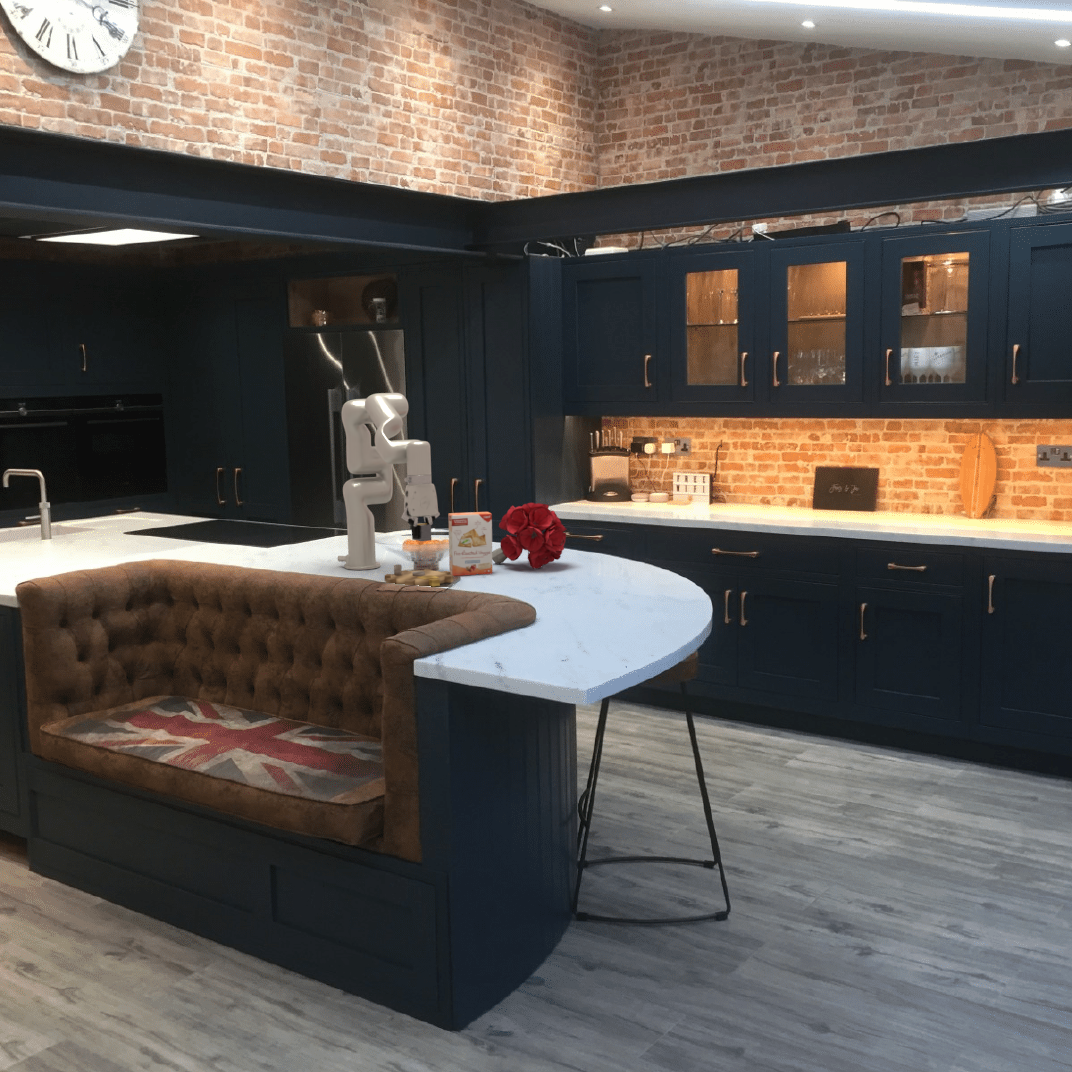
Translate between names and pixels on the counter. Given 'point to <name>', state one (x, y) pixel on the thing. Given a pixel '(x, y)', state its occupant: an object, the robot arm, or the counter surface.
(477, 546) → the cracker box
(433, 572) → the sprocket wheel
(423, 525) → the grey small block
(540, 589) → the counter surface
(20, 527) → the counter surface
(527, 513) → the bouquet
